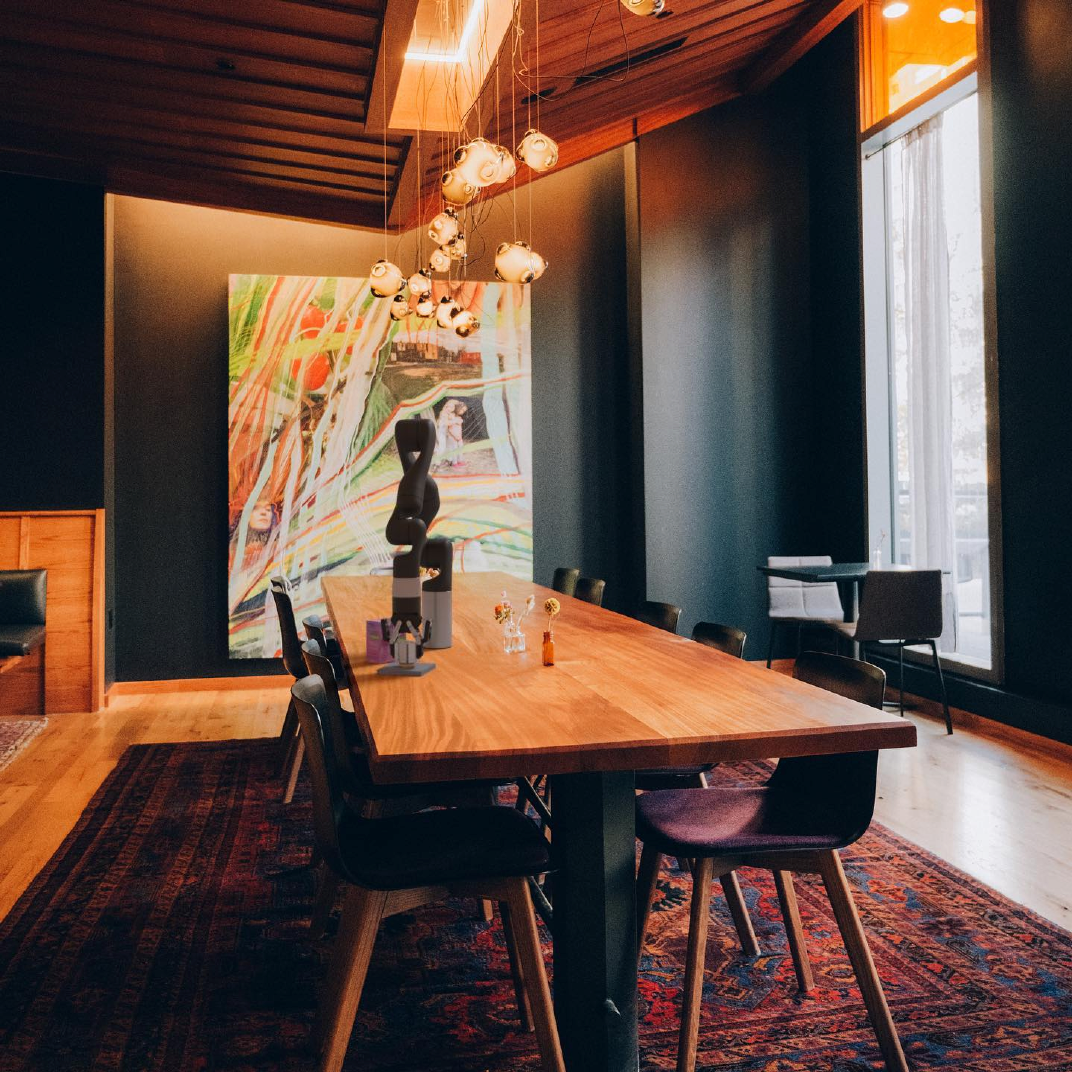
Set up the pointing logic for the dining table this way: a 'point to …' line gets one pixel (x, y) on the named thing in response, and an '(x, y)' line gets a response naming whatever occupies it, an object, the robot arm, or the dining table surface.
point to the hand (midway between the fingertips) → (406, 657)
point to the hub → (405, 651)
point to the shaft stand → (406, 669)
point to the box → (379, 642)
